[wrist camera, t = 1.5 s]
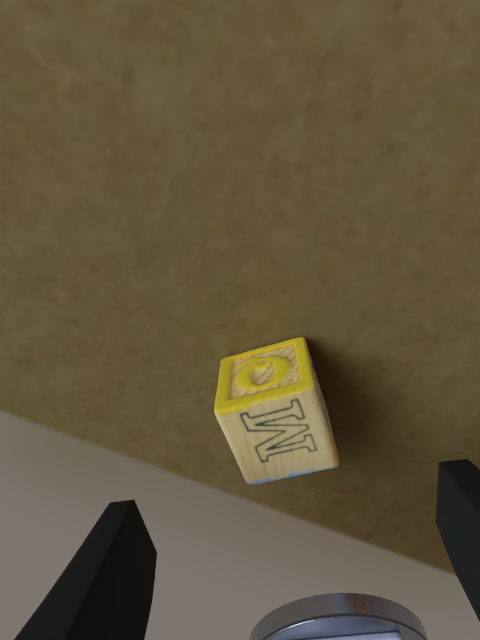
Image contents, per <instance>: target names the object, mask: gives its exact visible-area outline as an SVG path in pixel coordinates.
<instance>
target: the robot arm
mask: <svg viewBox="0 0 480 640" xmlns="http://www.w3.org/2000/svg"><path fill="white" fill-rule="evenodd" d="M436 524H437V526H438V529H439V532H440V534H441V537H442V540H443V542H444V545H445V548H446V550H447V553H448V555H449V558H450V561H451V563H452V566H453V568H454V571H455V573H456V575H457V577H458V579H459V581H460V583H461V585H462V587H463V589H464V591H465V593H466V595H467V597H468V599H469V601H470V603H471V605H472V607H473V609H474V611H475V613H476V615H477V617H478V619H479V621H480V470H479V469H478V468H477V467H476V466H475V465H474V464H473V463H472V462H470V461H469V460H467V459H463V460H455V461H446V462H439V472H438V491H437V510H436ZM156 557H157V552H156V549H155V547H154V545H153V542H152V540H151V538H150V535H149V533H148V531H147V528H146V526H145V524H144V521H143V519H142V517H141V514H140V512H139V510H138V507H137V505H136V503H135V500H128V501H120V502H111V503H110V504H109V505H108V506H107V508H106V509H105V511H104V512H103V514H102V515H101V517H100V518H99V519H98V521H97V522H96V524H95V525H94V527H93V529H92V530H91V532H90V533H89V535H88V536H87V538H86V539H85V541H84V542H83V544H82V545H81V547H80V548H79V550H78V551H77V553H76V554H75V556H74V557H73V558H72V560H71V561H70V563H69V564H68V566H67V567H66V569H65V570H64V572H63V573H62V574H61V576H60V577H59V579H58V580H57V582H56V583H55V584H54V586H53V587H52V589H51V590H50V592H49V593H48V594H47V596H46V597H45V599H44V600H43V602H42V603H41V604H40V606H39V607H38V608H37V610H36V611H35V612H34V614H33V615H32V616H31V618H30V619H29V621H28V622H27V623H26V624H25V626H24V627H23V628H22V630H21V631H20V633H19V634H18V635H17V636H16V638H15V639H14V640H144V638H145V633H146V628H147V623H148V619H149V614H150V609H151V604H152V597H153V588H154V580H155V568H156ZM307 640H403V639H402V636H401V634H400V633H398V632H386V633H375V634H363V635H352V636H341V637H329V638H318V639H307Z"/></svg>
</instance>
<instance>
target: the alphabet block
mask: <svg viewBox="0 0 480 640" xmlns="http://www.w3.org/2000/svg"><path fill="white" fill-rule="evenodd" d="M214 412H215V415H216V417H217V420H218V422H219V424H220V426H221V428H222V430H223V432H224V434H225V436H226V439H227V441H228V443H229V445H230V448H231V450H232V452H233V454H234V456H235V458H236V460H237V463H238V465H239V467H240V469H241V472H242V474H243V476H244V479H245V481H246V482H247V483H248V484H254V485H255V484H260V483H264V482H270V481H273V480H279V479H284V478H288V477H293V476H298V475H302V474H308V473H312V472H316V471H320V470H325V469H332V468H335V467H337V466H338V465H339V458H338V454H337V449H336V445H335V442H334V438H333V433H332V428H331V424H330V420H329V415H328V412H327V407H326V404H325V401H324V398H323V394H322V391H321V388H320V385H319V381H318V378H317V375H316V371H315V369H314V366H313V363H312V359H311V356H310V353H309V350H308V346H307V343H306V340H305V338H303V337H298V338H294V339H290V340H287V341H283V342H280V343H276V344H273V345H269V346H265V347H261V348H257V349H255V350H250V351H247V352H244V353H240V354H237V355H233V356H229V357H225V358H224V359H222V360H221V365H220V373H219V380H218V388H217V394H216V400H215V407H214Z"/></svg>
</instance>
